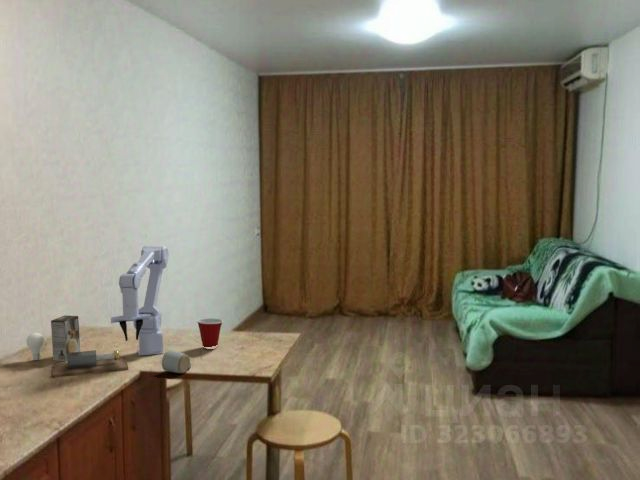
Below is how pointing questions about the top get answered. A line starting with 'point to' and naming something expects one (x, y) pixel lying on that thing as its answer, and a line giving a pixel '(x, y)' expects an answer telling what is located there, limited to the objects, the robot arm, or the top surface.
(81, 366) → the block
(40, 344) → the lightbulb
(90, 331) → the top surface
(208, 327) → the plastic cup
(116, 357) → the shaft
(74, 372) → the base board
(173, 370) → the ceramic mug
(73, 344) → the coffee box
